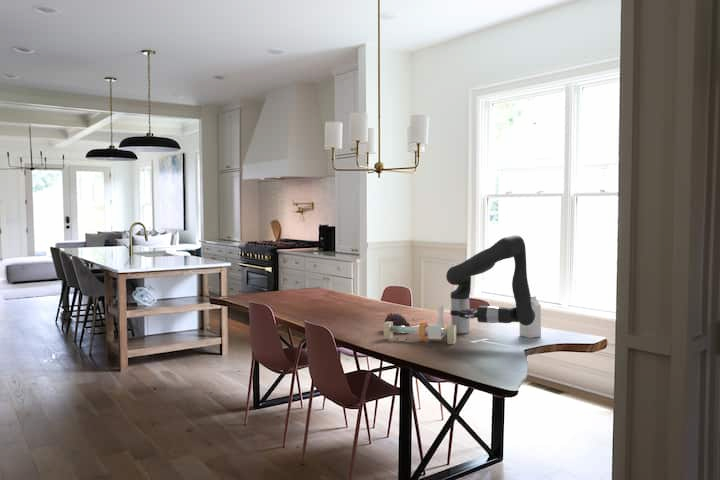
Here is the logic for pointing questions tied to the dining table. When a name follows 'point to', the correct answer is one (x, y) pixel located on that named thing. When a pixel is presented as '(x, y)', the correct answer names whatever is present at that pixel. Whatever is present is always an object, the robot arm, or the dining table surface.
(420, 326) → the ring
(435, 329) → the sleeve
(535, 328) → the milk carton
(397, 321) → the pine cone
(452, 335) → the pipe rail
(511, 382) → the dining table surface
